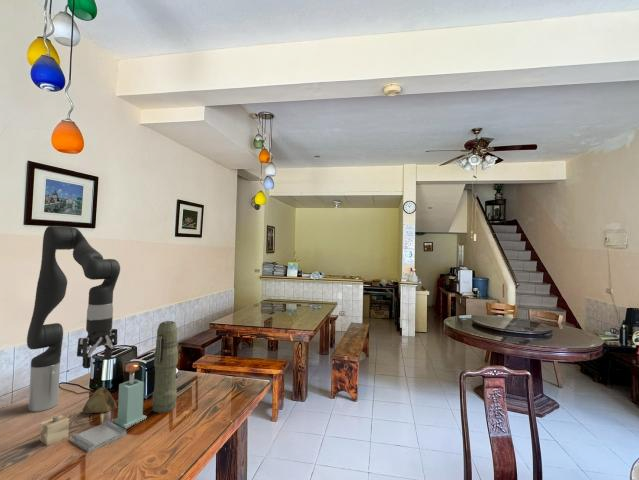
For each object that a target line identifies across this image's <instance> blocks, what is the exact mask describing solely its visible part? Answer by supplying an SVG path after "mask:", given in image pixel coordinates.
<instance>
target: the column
mask: <svg viewBox="0 0 639 480" xmlns="http://www.w3.org/2000/svg"><path fill="white" fill-rule="evenodd" d="M144 390H145V382H144V381H142V380H139V379H136V378H134V385H131V386H129V380H127V381H124V382H122V383H119V384H118V399H117V400H118V403H117V404H118V405H117V417H116V418H114V419H113V420H112V423H114V424H116V425H118V426H120V427H122V428H124V429H127V428H130V427H132V426H133V424H134V425H136V424H139V423H140V421H141V422H143V421H145V420H147V419H146V418H147V415H145V414H143V413H144V393H145V391H144ZM144 419H145V420H144ZM142 420H143V421H142ZM135 423H136V424H135ZM131 425H132V426H131Z"/></svg>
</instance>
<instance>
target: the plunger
mask: <svg viewBox="0 0 639 480" xmlns="http://www.w3.org/2000/svg"><path fill="white" fill-rule="evenodd" d="M139 370H140V363H138V362H129V363H126V365H125V372H126V373H129V380H128V381H129V386H131V385H134V379H135V372H137V371H139Z"/></svg>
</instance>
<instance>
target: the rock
mask: <svg viewBox="0 0 639 480" xmlns="http://www.w3.org/2000/svg"><path fill="white" fill-rule="evenodd" d="M116 408H118V405H117V403H116V400H115V399H114V398H113V396H112V394H111V392H110V391H109V390H108V389H107V388H106V387H99V388H98V389H96V390H95V391H94V392H93V394H92V395H91V396H90V398H88V400H87V401H86V403H85V405H84V406H83V408H82V413H83V414H87V413H89V414H91V413H93V414H94V413H97V414H98V413H108V412H111V411H113V410H114V409H116Z"/></svg>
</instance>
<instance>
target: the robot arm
mask: <svg viewBox="0 0 639 480" xmlns="http://www.w3.org/2000/svg"><path fill="white" fill-rule="evenodd" d="M41 250H42V251H41V261H40V263H41V264H40V269H39V275H38V280H37V284H36V292H35V298H34V305H33V311H32V316H31V320H30V323H29V327H28V330H27V337H26V344H27V345H26V346H27V348H29V350H38V349H39V350H40V349H45V348H47V349H45V350H44V351H43V352H41V353H40V354H37V355H36V356H34V357H32V358H31V361H30V373H29V374H30V375H29V378H30V379H29V393H28V394H29V396H28V411H29V412H34V413H35V412H42V411H46V410H49V409H52V408H54V407H56V406H57V405H58V404H59V392H60V389H59V388H60V371H61V357H62V348H63V341H64V340H63V339H64V329H63V328H64V327H63V326H62V324H61V323H59V322H55V323H49V324H45V322H46V320H47V318H48V316H49V315H50V314H51V313H52V312H53V311H54V310H55V309H56V308H57V306H59V305H60V303H62V302H63V300H64V298H65V297H66V294H67V286H68V278H67V276H66V274H65V273H64V271H63V270H62V269H61V267H60V265H59V264H58V261H57V258H56V253H57V250H60V251H61V250H63V251H64V250H66V251H67V250H69V251H70V250H73V251H72V257H73V259H74V261H75V262H76V263H77V264H79V266H81V269H82V270H83V274H84V276H85V278H87V279H89V280H92V281H94V280H103V281H102V283H101V284H99V285H96V286H92V287H91V288H89V291H88V303H87V310H86V322H85V323H86V326H85V331H86V332H87V336H86V337H79V338H78V339H77V347H76V348H77V351H76V357H80V358H82V367H83V368H84V369H90V368H91V367H92V354H93V352H94V351H96V350H97V348H99V347H102V346H103V347H104V349H103V350H104V353H103V359H104V360H106V361H107V360H108V361H109V360H111V359H112V356H113V355H112V354H113V348H114V347H115V346H117V345H118V329H117V328H113V318H114V315H113V314H114V305H113V303H114V302H113V301H114V290H115V287H116V285H117V282H118V279H119V276H120V273H121V265H120V263H119V261H118V260H116V259H114V258H104V257H103V255H102V254H101V253H100V252H99V251H97V250H96V249H95V248H94V247H93V246H92V245H90V243H89V241H88V239H86V237H85V236H84V234H83V233H82V232H81V230H79V228H77V227H75V226H66V225H65V226H63V225H49V226H47V227H46V228H45V230H44V233H43V237H42V249H41Z"/></svg>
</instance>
